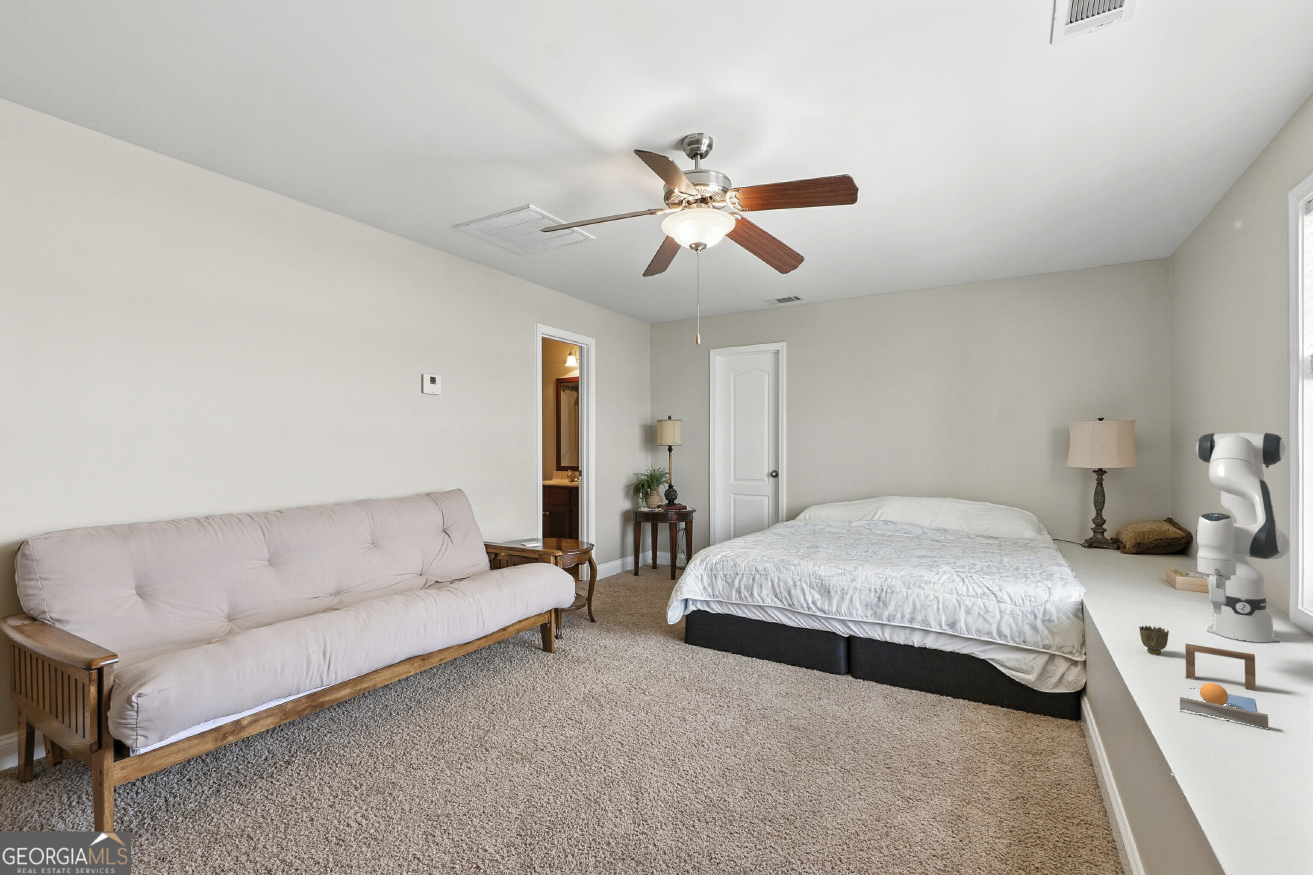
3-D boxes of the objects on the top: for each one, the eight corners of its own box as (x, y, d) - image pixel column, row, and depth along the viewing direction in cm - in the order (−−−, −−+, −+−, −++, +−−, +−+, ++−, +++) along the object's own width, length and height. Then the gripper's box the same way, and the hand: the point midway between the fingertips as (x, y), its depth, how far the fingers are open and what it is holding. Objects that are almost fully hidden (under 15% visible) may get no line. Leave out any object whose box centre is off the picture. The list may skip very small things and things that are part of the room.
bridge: (1186, 674, 182) (1185, 643, 182) (1255, 687, 172) (1254, 654, 172) (1186, 677, 179) (1185, 646, 179) (1255, 690, 170) (1255, 657, 170)
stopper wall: (1180, 708, 159) (1180, 696, 159) (1267, 726, 149) (1267, 714, 149) (1180, 711, 158) (1179, 699, 158) (1268, 729, 147) (1268, 716, 147)
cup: (1174, 657, 196) (1174, 632, 196) (1148, 656, 197) (1147, 631, 197) (1160, 650, 203) (1160, 625, 203) (1134, 648, 204) (1134, 624, 205)
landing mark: (1189, 686, 173) (1189, 686, 173) (1253, 699, 164) (1253, 698, 164) (1188, 701, 163) (1188, 701, 163) (1257, 715, 154) (1257, 715, 154)
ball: (1199, 676, 164) (1198, 690, 160) (1227, 680, 160) (1227, 695, 157) (1201, 693, 166) (1200, 707, 162) (1229, 698, 162) (1229, 712, 158)
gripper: (1231, 574, 179) (1232, 622, 179) (1229, 563, 194) (1230, 607, 194) (1202, 571, 183) (1203, 618, 183) (1202, 561, 198) (1203, 604, 198)
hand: (1217, 612), depth 189 cm, fingers closed
